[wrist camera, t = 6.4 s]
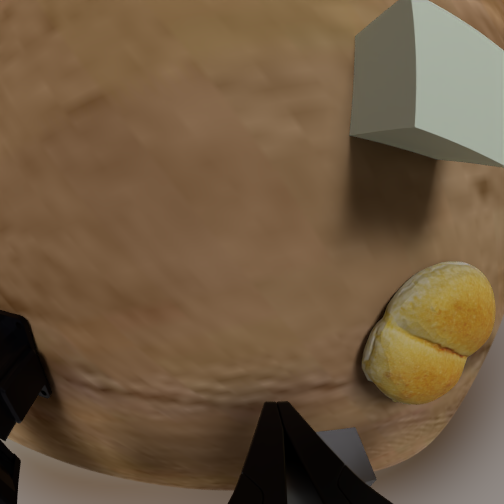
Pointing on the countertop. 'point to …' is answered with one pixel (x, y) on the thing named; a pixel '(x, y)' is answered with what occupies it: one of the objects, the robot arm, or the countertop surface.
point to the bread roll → (429, 332)
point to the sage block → (429, 85)
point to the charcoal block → (350, 452)
